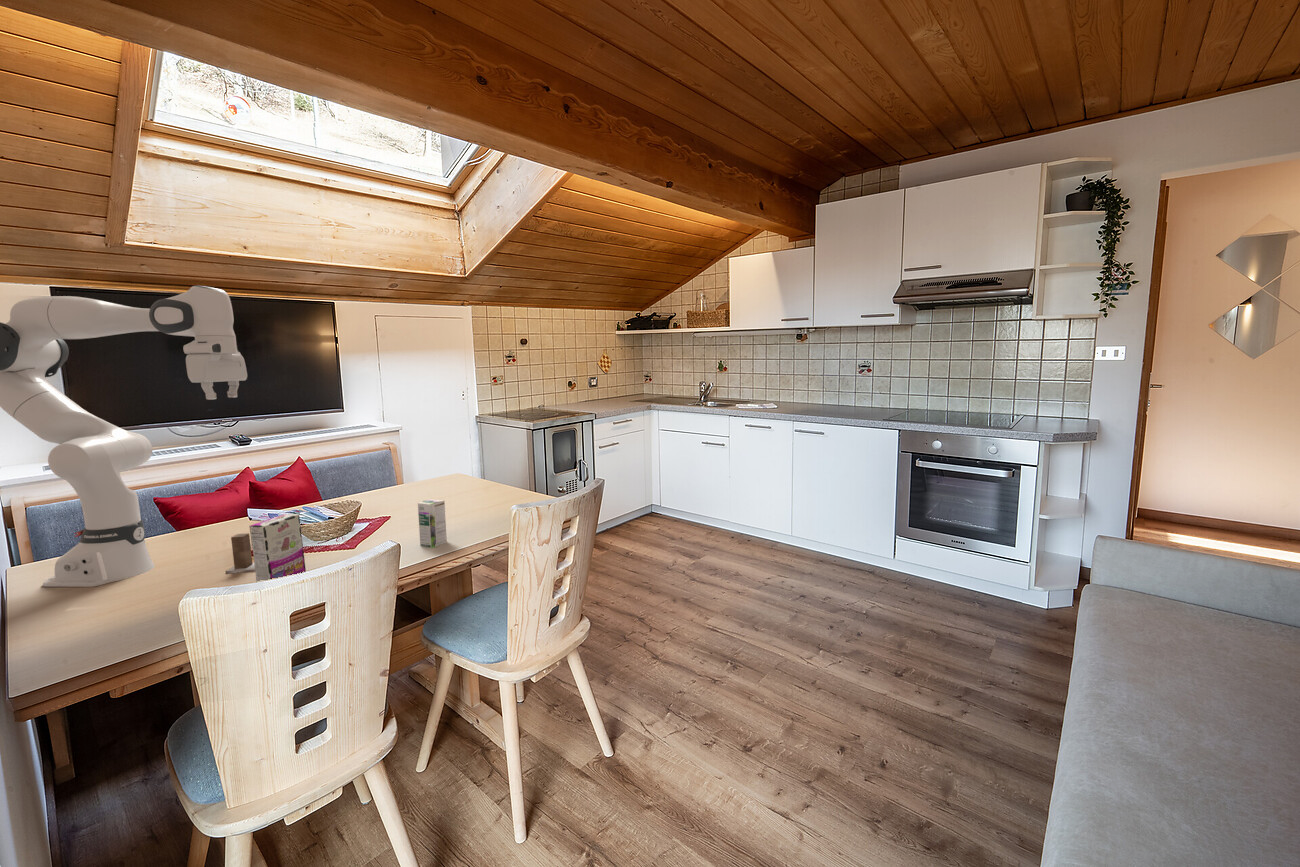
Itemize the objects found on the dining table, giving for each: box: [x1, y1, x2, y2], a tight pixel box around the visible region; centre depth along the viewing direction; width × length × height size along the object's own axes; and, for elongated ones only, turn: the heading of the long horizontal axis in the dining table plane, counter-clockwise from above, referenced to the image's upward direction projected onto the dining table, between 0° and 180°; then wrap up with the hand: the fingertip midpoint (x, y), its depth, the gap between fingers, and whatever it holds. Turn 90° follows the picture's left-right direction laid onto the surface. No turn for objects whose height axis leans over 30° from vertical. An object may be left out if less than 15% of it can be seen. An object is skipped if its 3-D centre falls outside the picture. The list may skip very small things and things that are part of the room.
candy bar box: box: [249, 513, 307, 582], centre depth 147 cm, size 11×5×16 cm, turn 168°
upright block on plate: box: [225, 532, 255, 575], centre depth 156 cm, size 14×6×10 cm, turn 98°
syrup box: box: [417, 498, 448, 549], centre depth 171 cm, size 6×6×14 cm
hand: (222, 398), depth 153 cm, fingers open, 8 cm apart
